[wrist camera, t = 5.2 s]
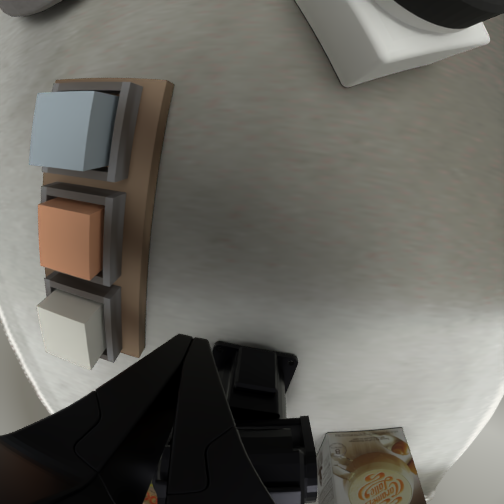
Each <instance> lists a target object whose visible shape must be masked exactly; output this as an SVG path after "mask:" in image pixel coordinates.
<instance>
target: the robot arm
mask: <svg viewBox="0 0 504 504" xmlns="http://www.w3.org/2000/svg"><path fill="white" fill-rule="evenodd" d="M218 348H222V350H220V349H218ZM289 361H293V362H289ZM297 364H298V359H297V357H296V356H295V355H290V354H284V353H278V352H272V351H266V350H260V349H255V348H250V347H244V346H239V345H234V344H229V343H224V342H216V343H215V344H214V347H213V352H212V351H211V347H210V344H209V341H208V340H207V339H202V338H197V337H195V338H193V337H192V336H188V335H183V334H178V335H176V336H174V337H173V338H172V339H170V340H169V341H167V342H166V343H164V344H163V345H161V346H160V347H158V348H157V349H155V350H154V351H153V352H151V353H150V354H148V355H147V356H145V357H144V358H142V359H141V360H139V361H138V362H136V363H135V364H133V365H132V366H130V367H129V368H127V369H126V370H124V371H123V372H121V373H120V374H118V375H117V376H115V377H114V378H112V379H111V380H109V381H108V382H106V383H105V384H103V385H102V386H100V387H99V388H97V389H96V392H95V391H92V392H91V393H89V394H88V395H86V396H85V397H83V398H81V399H80V400H78V401H76V402H75V403H73V404H71V405H70V406H68V407H66V408H64V409H62V410H60V411H58V412H56V413H54V414H52V415H50V416H48V417H46V418H44V419H41V420H39V421H37V422H35V423H33V424H31V425H28V426H26V427H24V428H22V429H19V430H17V431H15V432H12V433H9V434H6V435H2V436H0V504H143V502H144V499H145V496H146V494H147V491H148V489H149V486H150V484H151V481H152V485H153V488H154V490H155V492H156V494H157V504H304V503H312V502H315V501H316V498H317V487H318V474H317V459H316V452H315V447H314V442H313V437H312V432H311V427H310V422H309V417H308V416H300V418H286V401H285V394H286V392H287V389H288V387H289V384H290V382H291V379H292V377H293V375H294V372H295V370H296V367H297Z"/></svg>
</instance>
